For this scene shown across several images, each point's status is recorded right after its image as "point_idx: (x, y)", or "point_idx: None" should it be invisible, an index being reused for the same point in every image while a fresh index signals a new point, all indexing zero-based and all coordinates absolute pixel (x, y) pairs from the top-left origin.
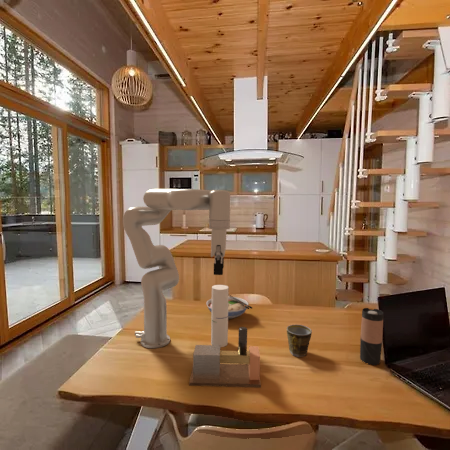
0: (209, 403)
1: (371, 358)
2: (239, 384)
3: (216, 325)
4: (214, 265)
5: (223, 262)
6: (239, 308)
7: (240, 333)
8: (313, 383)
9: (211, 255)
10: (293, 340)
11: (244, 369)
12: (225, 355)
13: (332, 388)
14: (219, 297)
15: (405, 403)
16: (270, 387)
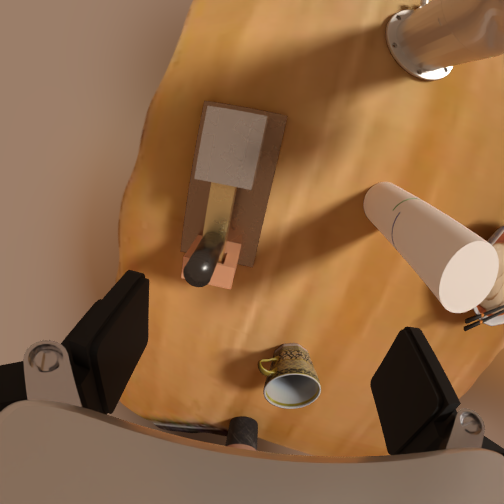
0: (145, 141)
1: (230, 427)
2: (186, 209)
3: (389, 207)
4: (84, 331)
5: (383, 425)
6: (485, 298)
7: (189, 259)
8: (189, 336)
9: (6, 407)
10: (258, 367)
11: (237, 233)
12: (209, 195)
13: (175, 353)
14: (427, 253)
15: (148, 400)
16: (181, 266)
